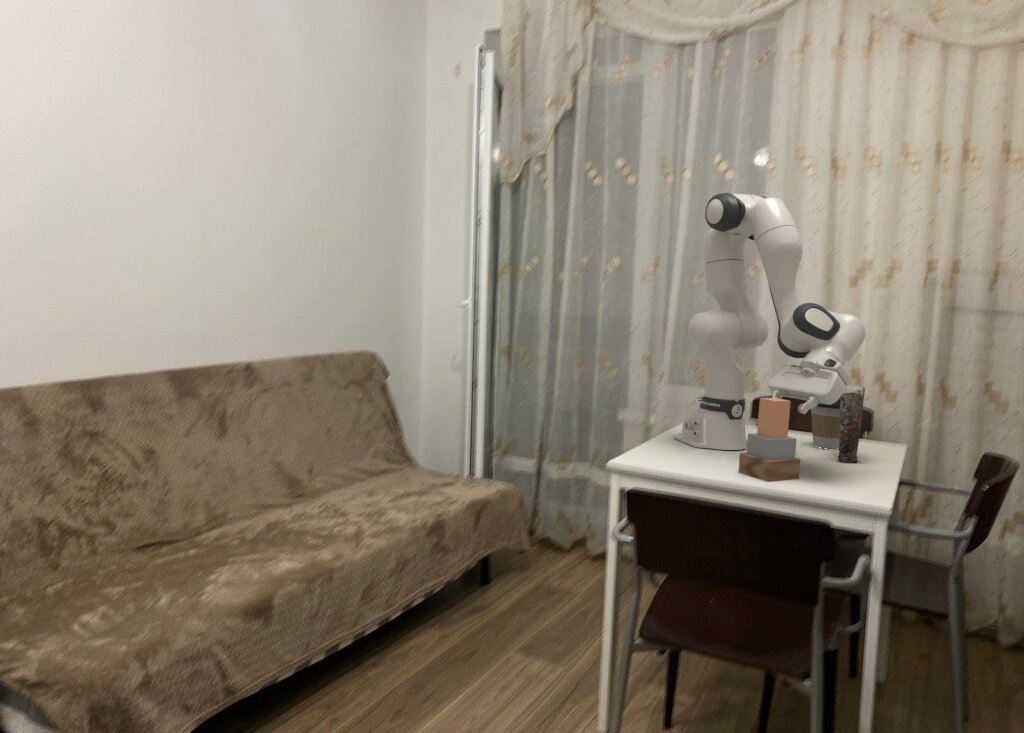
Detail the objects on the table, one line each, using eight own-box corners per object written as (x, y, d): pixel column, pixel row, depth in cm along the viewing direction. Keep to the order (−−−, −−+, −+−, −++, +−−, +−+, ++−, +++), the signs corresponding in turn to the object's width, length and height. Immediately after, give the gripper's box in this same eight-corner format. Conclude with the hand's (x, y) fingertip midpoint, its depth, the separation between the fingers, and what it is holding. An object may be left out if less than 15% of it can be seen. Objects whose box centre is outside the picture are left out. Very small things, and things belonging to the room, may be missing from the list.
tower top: (746, 453, 196) (748, 433, 195) (772, 452, 199) (774, 432, 198) (768, 460, 188) (769, 439, 188) (794, 459, 191) (796, 438, 191)
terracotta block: (757, 434, 194) (759, 398, 193) (773, 434, 196) (776, 397, 195) (771, 438, 189) (774, 401, 188) (787, 437, 191) (790, 400, 190)
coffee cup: (856, 450, 231) (860, 399, 229) (825, 452, 226) (829, 400, 225) (827, 443, 241) (831, 394, 240) (797, 444, 237) (801, 394, 235)
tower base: (738, 473, 196) (739, 453, 195) (768, 470, 200) (769, 451, 200) (768, 482, 187) (769, 462, 186) (799, 479, 191) (800, 459, 191)
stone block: (832, 453, 225) (837, 383, 224) (858, 455, 223) (864, 385, 221) (835, 462, 213) (841, 388, 211) (863, 464, 211) (870, 390, 209)
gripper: (782, 355, 205) (750, 394, 201) (845, 363, 186) (811, 406, 183) (794, 372, 207) (762, 411, 204) (857, 382, 188) (824, 424, 185)
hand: (786, 408), depth 193 cm, fingers open, 8 cm apart
